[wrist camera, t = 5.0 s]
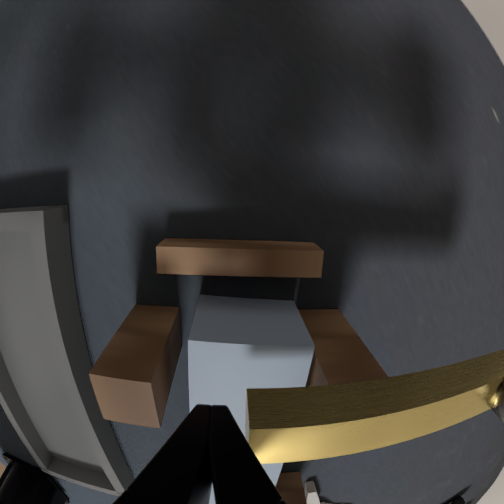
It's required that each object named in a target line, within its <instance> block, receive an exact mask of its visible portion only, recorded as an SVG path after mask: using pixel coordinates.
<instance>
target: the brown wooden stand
mask: <svg viewBox="0 0 504 504" xmlns="http://www.w3.org/2000/svg"><path fill="white" fill-rule="evenodd" d="M323 257H324V251H323V250H322V249H321V248H320V247H318V246H317V245H316V244H315V243H314V242H288V241H258V240H224V239H187V238H165V239H164V240H163V241H161V242H160V243H159V244H158V245H157V246H156V261H157V273H159V274H184V275H213V276H250V277H307V278H321V275H322V266H323ZM298 311H299V313H300V315H301V317H302V319H303V321H304V324H305V326H306V328H307V330H308V332H309V334H310V336H311V338H312V341H313V343H314V345H315V348H314V353H313V357H312V361H311V366H310V370H309V374H308V378H307V382H306V386H305V387H309V386H322V385H333V384H343V383H352V382H360V381H368V380H375V379H381V378H388V376H387V375H386V373H385V372H384V371H383V369H382V368H381V366H380V365H379V364H378V362H377V361H376V359H375V358H374V357H373V355H372V354H371V353H370V351H369V350H368V348H367V347H366V346H365V344H364V343H363V342H362V340H361V339H360V337H359V336H358V335H357V333H356V332H355V331H354V329H353V328H352V327H351V325H350V324H349V323H348V321H347V320H346V319H345V317H344V316H343V315H342V313H341V312H340V311H339V309H314V310H298ZM181 348H182V340H181V325H180V308H179V307H168V306H152V305H137V304H136V305H135V306H134V308H133V309H132V311H131V312H130V313H129V315H128V316H127V318H126V319H125V320H124V322H123V323H122V325H121V326H120V328H119V329H118V330H117V332H116V333H115V335H114V336H113V338H112V339H111V341H110V342H109V344H108V345H107V347H106V348H105V350H104V351H103V353H102V354H101V356H100V357H99V359H98V360H97V362H96V363H95V365H94V366H93V368H92V369H91V371H90V372H89V376H90V380H91V383H92V386H93V389H94V392H95V396H96V399H97V401H98V404H99V407H100V410H101V413H102V415H103V418H104V419H106V420H111V421H116V422H122V423H127V424H133V425H139V426H146V427H154V428H161V423H162V419H163V415H164V412H165V408H166V404H167V400H168V396H169V392H170V388H171V385H172V381H173V377H174V373H175V370H176V366H177V362H178V359H179V355H180V352H181ZM276 488H277V490H278V492H279V493H280V495H281V496H282V498H283V499H282V500H285V502H286V503H287V504H307V501H306V497H305V492H304V488H303V483H302V479H301V474H300V471H298V472H288V473H280V475H279V478H278V481H277V484H276Z"/></svg>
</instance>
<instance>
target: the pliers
mask: <svg viewBox="0 0 504 504" xmlns="http://www.w3.org/2000/svg"><path fill="white" fill-rule="evenodd" d="M304 492H305V497H306V501H307V504H331V503H325V502H323V501H322V502H321V503H320V500H319V496H318V493H317V490H316V487H315V484H314V481H308V482H305V488H304ZM343 504H344V503H343Z"/></svg>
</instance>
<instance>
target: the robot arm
mask: <svg viewBox="0 0 504 504" xmlns="http://www.w3.org/2000/svg"><path fill="white" fill-rule="evenodd" d="M2 457H3V458H4V459H5V461H6V462H7V463H8V466H7V467H6V469H5V471H4V472H3V474H2V476H1V478H0V504H65V503H66V504H69V502H70V501H69V499H68V498H67V497H66V496H65V495H64V494H63V492H62V491H61V490H60V489H59V488H58V486H57V485H56V484H55V483H54V481H53V480H52V479H51V478H50V476H49V475H48V474H47V473H45V472H43V471H41V470H39V469H37V468H34V467H32V466H30V465H28V464H26V463H23V462H21V461H19V460H17V459H15V458H13V457H11V456H9V455H7V454H6V453H3V454H2ZM212 484H213V491H214V497H215V504H287V503H286V502H285V500H282V499H283V498H282V496H281V495H280V493H279V492H278V490H277V488H276V487H275V485H274V484H273V482H272V481H271V479H270V478H269V476H268V475H267V473H266V471H265V470H264V468H263V467H262V465H261V463H260V462H259V460H258V458H257V457H256V455H255V453H254V452H253V450H252V448H251V447H250V445H249V443H248V442H247V440H246V438H245V436H244V435H243V433H242V431H241V429H240V428H239V426H238V424H237V422H236V420H235V419H234V417H233V415H232V413H231V411H230V409H229V408H228V406H226V405H209V404H197V405H196V406H195V407H194V408H193V409H192V410H191V412H190V413H189V414H188V416H187V417H186V418H185V419H184V421H183V422H182V423H181V424H180V426H179V427H178V428H177V429H176V431H175V432H174V433H173V434H172V435H171V437H170V438H169V439H168V440H167V442H166V443H165V444H164V445H163V446H162V448H161V449H160V450H159V451H158V452H157V454H156V455H155V456H154V457H153V458H152V460H151V461H150V462H149V463H148V464H147V465H146V467H145V468H144V469H143V470H142V471H141V473H140V474H139V475H138V476H137V477H136V478H135V479H134V481H133V482H132V483H131V484H130V485H129V486H128V487H127V490H128V491H127V490H125V491H124V492H123V493H122V494H121V495H120V496H119V497H118V499H117V500H116V501H115V502H114V503H113V504H209V500H210V494H211V488H212Z"/></svg>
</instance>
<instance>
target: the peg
mask: <svg viewBox="0 0 504 504" xmlns="http://www.w3.org/2000/svg"><path fill="white" fill-rule="evenodd" d="M314 348H315V345H314V343H313V341H312V338H311V336H310V334H309V332H308V330H307V328H306V326H305V324H304V321H303V319H302V317H301V315H300V313H299V311H298V309H297V307H296V304H295V302H294V301H289V300H270V299H253V298H238V297H224V296H211V295H200V297H199V300H198V304H197V308H196V311H195V315H194V319H193V323H192V327H191V330H190V334H189V338H188V373H189V404H190V412H191V410H192V409H193V408H194V407H195V406H196V405H197V404H209V405H226V406H228V408H229V409H230V411H231V413H232V415H233V417H234V419H235V420H236V422H237V424H238V426H239V428H240V429H241V431H242V433H243V435H244V436H245V438H246V435H245V413H246V392H247V388H291V387H305V386H306V382H307V378H308V374H309V370H310V366H311V361H312V357H313V353H314ZM261 465H262V467H263V468H264V470H265V471H266V473H267V475H268V476H269V478H270V479H271V481H272V482H273V484H274V485H275V487H276V484H277V481H278V478H279V475H280V472H281V469H282V466H283V463H268V464H261ZM209 504H215V497H214V491H213V484H212V488H211V494H210V500H209Z"/></svg>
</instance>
